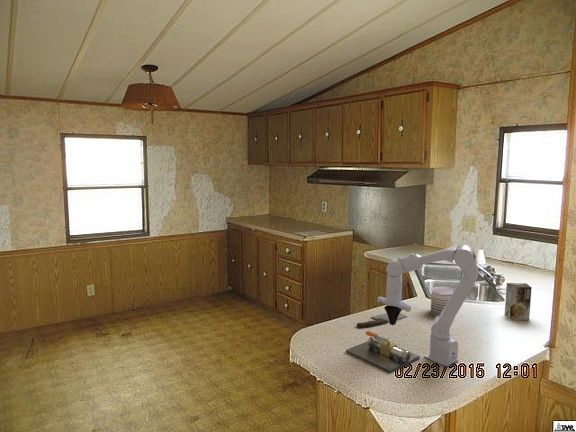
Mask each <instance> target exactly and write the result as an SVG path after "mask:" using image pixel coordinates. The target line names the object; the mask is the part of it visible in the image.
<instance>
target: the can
mask: <svg viewBox="0 0 576 432" xmlns="http://www.w3.org/2000/svg"><path fill="white" fill-rule="evenodd" d="M455 289H456V288H453V287H448V286H435V287H433V288H431V289H430V290H431V293H430V294H431V299H430V314H431V315H433V316H434V315H435V317H436V316H438V315H440V314H441V312H442V310H443V309H444V308H445V306H446V304H447V303H448V301H449V299H450V297H451V296H452V294H453V292H454V290H455Z"/></svg>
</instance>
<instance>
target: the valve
mask: <svg viewBox="0 0 576 432" xmlns="http://www.w3.org/2000/svg"><path fill="white" fill-rule="evenodd" d="M346 352H347V354H348V353H349V355H350V354H351V356H353V357H355V358H356V359H359V360H360V361H362V362H366V363H367V364H369V365H371V366H374V367H376V368H378V369H379V370H382V371H384V372H386V373H387V374H391V373H393V372H396V371H398V370H400V369H402V368H404V367H406V366H408V365H410V364H412V363H414V362H416V361H418V360H420V359H421V356H420V355H418V354H417V353H416V354H415V353H413V352H411V351H408V350H406V349H404V348H401V347H398V344H396V343H394V342H391V343H386V341H383V340H381V339H378V338H374V337H371V336H369V338H368V340H367V341H365V342H362V343H359V344H357V345H354V346H352V347H349V348H347V349H346V350H345V353H346Z"/></svg>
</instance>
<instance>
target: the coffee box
mask: <svg viewBox="0 0 576 432" xmlns="http://www.w3.org/2000/svg"><path fill="white" fill-rule="evenodd" d="M531 299H532V286H530V285H529V284H528V283H526V282H506V290H505V301H504V302H505V304H504V316H505V317H506V318H507V319H508V320H509V321H510V320H515V321H519V320H520V321H530V315H531V314H530V313H531V301H532V300H531Z"/></svg>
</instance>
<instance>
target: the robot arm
mask: <svg viewBox="0 0 576 432" xmlns="http://www.w3.org/2000/svg"><path fill="white" fill-rule="evenodd" d="M441 261H447V262H449V263H455V264H456V265H457V267H458V268H460V270H461V274H462V277H461V278H460V279H459V282H458V283H457V285H456V287H455V288H454V289H455V290H454V292H453V294H452V296H451V297H450V299H449V301H448V303H447V304H446V306H445V308H444V309H443V310H442V312H441V314H440V315H438V316H435V317H434V319H433V322H432V323H433V324H432V326H431V329H430V338H429V339H430V341H429V353H428V354H426V355H424V358H425V359H428V360H430V361H433V362H434V363H438V364H440V365H441V366H445V367H449V366H451V365H453V364H454V363H456V362H458V361H459V359H458V354H459V343H458V341H456V340H455V339H453V337H452V334H451V333H450V330H451V326H452V324H453V323H454V320H455V318H456V315H458V313H459V311H460V309H461V307H462V306H463V304H464V302H465V301H466V299H467V298H468V296H469V294H470V292H471V290H472V289H473V287H474V286H475V283H476V282H477V281H478V279H479V278H478V277H479V270H478V268H479V267H478V262H477V255H476V253H475V251H474V249H473V248H472V247H471V246H470V245H468V244H460V245H456V246H451V247H446V248H443V249H439V250H437V251H434V252H430V253H426V254H424V255H420V254H418V253H415V254H414V253H413V252H412V253H410V254H409V255H407V256H404V257H397V258H395V259H392V260H390V261H389V262H388V264H387V265H386V268H385V270H386V273H387V274H386V275H387V278H386V292H385V295H386V297H384V296H378V297H377V298H376V299H377V301H376V302H377V303H382V304H384V305H385V306H384V311H385V312H386V313H387V315H388V318H389V322H388V323H389V325H391V326H394V325H397V321H398V320H397V318H398V316H399V314H400V313H402V310H403V311H405V312H406V313H407V312H408V313H409V312H411V311H412V305H409V304H407V303H405V302H403V301H402V296H403V295H402V293H403V291H402V290H403V274H406V273H410V272H414V271H417V270H421V269H423V267H424V265H428V264H432V263H436V262H441Z"/></svg>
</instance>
